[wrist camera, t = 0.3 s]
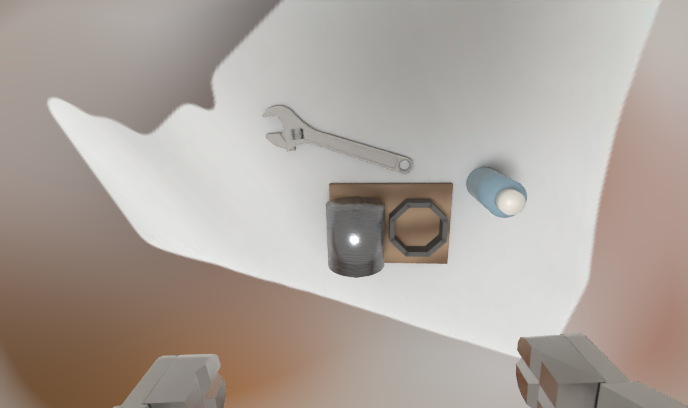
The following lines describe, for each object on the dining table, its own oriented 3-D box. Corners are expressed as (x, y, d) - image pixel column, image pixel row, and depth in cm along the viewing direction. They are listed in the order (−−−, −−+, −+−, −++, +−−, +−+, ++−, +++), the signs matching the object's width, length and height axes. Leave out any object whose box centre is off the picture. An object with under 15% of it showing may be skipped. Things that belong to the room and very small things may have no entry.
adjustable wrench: (415, 158, 55) (416, 160, 53) (398, 194, 57) (399, 196, 55) (271, 100, 54) (268, 100, 52) (260, 138, 56) (256, 139, 54)
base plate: (329, 183, 57) (329, 184, 56) (451, 183, 55) (452, 184, 54) (332, 259, 60) (331, 261, 60) (445, 261, 59) (447, 263, 58)
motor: (329, 196, 56) (322, 212, 48) (383, 196, 55) (386, 213, 47) (331, 261, 60) (325, 288, 51) (383, 262, 59) (385, 289, 50)
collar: (389, 198, 56) (390, 202, 53) (446, 198, 55) (449, 203, 52) (388, 250, 58) (389, 256, 56) (442, 250, 57) (445, 257, 55)
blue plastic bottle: (467, 167, 54) (493, 183, 43) (501, 166, 54) (536, 183, 42) (465, 198, 56) (489, 222, 44) (497, 198, 55) (530, 222, 44)
